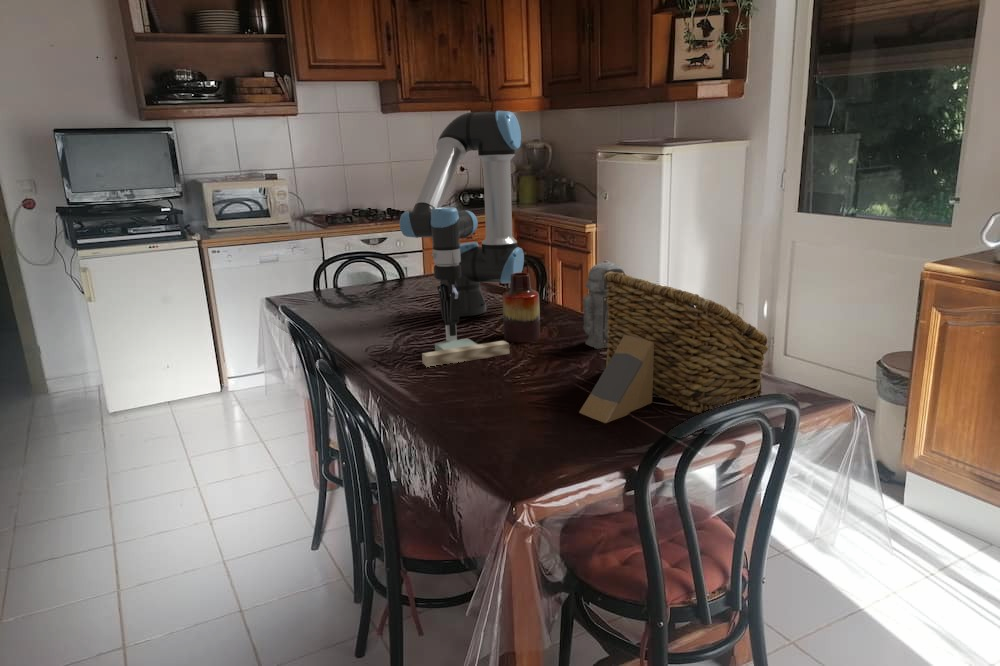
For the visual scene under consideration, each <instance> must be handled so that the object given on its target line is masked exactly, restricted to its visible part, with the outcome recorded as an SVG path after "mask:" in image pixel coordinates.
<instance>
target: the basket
mask: <svg viewBox="0 0 1000 666" xmlns="http://www.w3.org/2000/svg"><path fill="white" fill-rule="evenodd" d="M604 279H605V281H607V282H608V283H607V288H608V290H607V295H608V296H609V297H608V298H607V305H608V306H607V307H608V316H607V318H608V321H607V322H608V323H607V326H608V329H607V331H608V332H607V333H608V334H607V335H608V337H607V338H608V343H607V347H606V348H607V350H606V359H605V360H606V361H605V363H606V364H605V368H606V367H607V365H608V363H609V361H610V360H611V358H612V356H613V355H614V353H615V351H616V349H617V347H618V345H619V343H620V342H621V340H622V338H623V336H624V335H628V336H632V337H637V338H641V339H644V340H648V341H652V342H654V361H653V393H652V395H655V396H658V397H659V398H662V399H664V400H666V401H669V402H670V403H674V404H675V405H676V406H677V407H680V408H682V409H683V410H686V411H689V412H690V411H691V412H693V413H696V414H700V413H701V414H702V412H704V411H705V410H708V409H711V408H715V407H718V406H721V405H724V404H727V403H730V402H733V401H737V400H741V399H745V398H750V397H755V396H758V397H760V396H761V393H763V391H762V379H763V376H762V374H761V373H762V372H763V365H764V362H763V361H764V360H765V357H764V355H765V354H766V353H767V352H768V350H769V346H767V344H768V337H767V335H766V334H765V333H763V332H762V331H759V329H758V328H756V326H754V325H752V324H751V323H748V322H747V321H745V320H744V319H743V318H742V317H741V316H740V315H739V314H737V313H734V312H732V311H731V310H729V308H728V307H726V306H724V305H722V304H721V303H717V302H715V301H714V300H712V299H708V298H704V297H702V296H700V295H699V294H697V293H692V292H689V291H686V290H682V289H677V288H674V287H672V286H667V285H660V284H658V283H654V282H651V281H649V280H646V279H642V278H637V277H633V276H630V275H627V274H625V275H624V274H623V273H618V272H607V273H605V275H604ZM689 304H690V305H691V306H690V305H689ZM708 411H709V410H708Z"/></svg>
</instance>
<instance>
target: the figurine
mask: <svg viewBox="0 0 1000 666" xmlns="http://www.w3.org/2000/svg"><path fill="white" fill-rule="evenodd" d="M607 272H618V273H623V274H624V275H626V274H625V271H624V270H623V268H622V267H621V266H620V264H617V263H614V262H611V261H609V260H607V259H606V260H604V261H603V262H600V263H597V264H595V265H593V266H592V267H591V268H590V269H589V272H588V276H587V281H586V284H585V288H586V289H588V294H587V295H585V296H584V297H583V299H582V307H583V308H582V309H583V326H582V329H583V330H584V332H585V334H587V335H588V338H587V339H586V340H585V345H587V346H589V347H590V348H593V347H594V349H596V350H601V349H604V348H605V349H606V348H607V343H608V338H607V337H608V335H607V334H608V333H607V332H608V331H607V329H608V326H607V323H608V322H607V321H608V318H607V316H608V307H607V306H608V305H607V298H608V297H609V296H608V295H607V290H608V288H607V283H608V282H607V281H605V279H604V275H605V273H607Z"/></svg>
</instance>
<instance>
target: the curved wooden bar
mask: <svg viewBox="0 0 1000 666" xmlns="http://www.w3.org/2000/svg"><path fill="white" fill-rule="evenodd" d="M477 344H478V345H472V346H465V347H459V348H453V349H446V350H440V351H435V350H434V351H428V352H422V353H421V358H422V365H423V364H424V365H425V366H426V367H425V366H424V365H423V366H424V367H425V368H427V367H429V368H431V367H430V366H435V367H437V366H436V365H441V366H444V365H443V364H447V365H451V364H450V363H453V364H457V363H458V362H459V363H463V362H464V361H465V362H469V361H475V360H481V359H487V358H493V357H500V356H503V355H504V356H505V355H510V353H511V352H510V343H509V341H508V342H507V340H498V341H492V342H485V343H477Z"/></svg>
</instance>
